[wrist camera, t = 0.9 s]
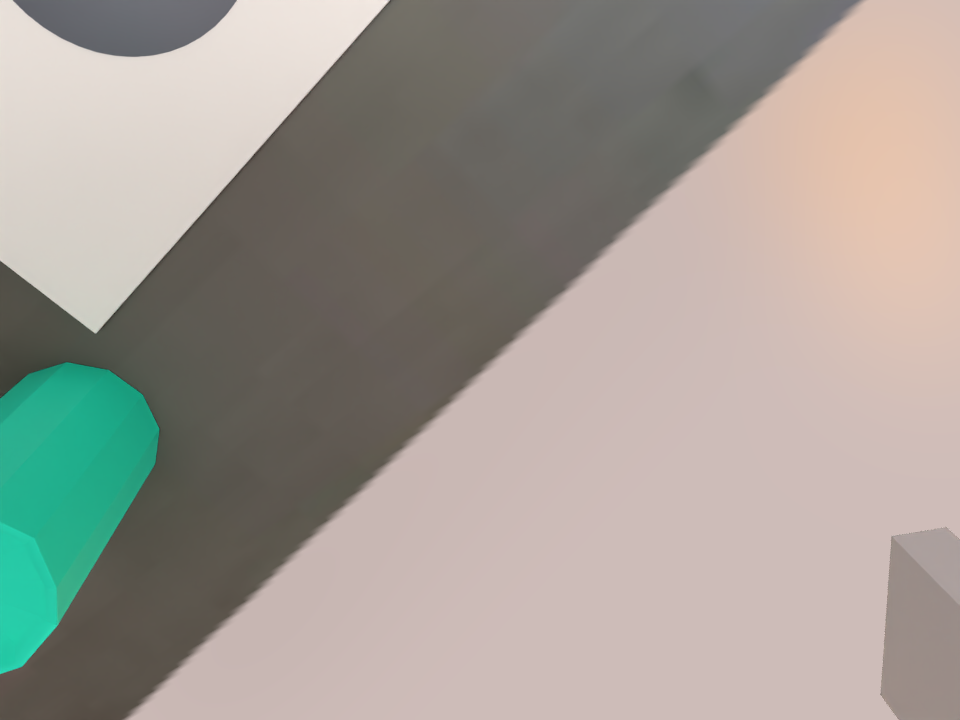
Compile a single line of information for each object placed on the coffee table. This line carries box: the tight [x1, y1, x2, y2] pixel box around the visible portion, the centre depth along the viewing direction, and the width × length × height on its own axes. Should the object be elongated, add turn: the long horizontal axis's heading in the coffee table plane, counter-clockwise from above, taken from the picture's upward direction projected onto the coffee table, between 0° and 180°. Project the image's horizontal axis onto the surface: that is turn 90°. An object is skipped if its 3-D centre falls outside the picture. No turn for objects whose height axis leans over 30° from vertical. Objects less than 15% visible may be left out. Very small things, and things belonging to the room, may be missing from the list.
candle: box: [0, 362, 159, 674], centre depth 28 cm, size 6×6×12 cm
